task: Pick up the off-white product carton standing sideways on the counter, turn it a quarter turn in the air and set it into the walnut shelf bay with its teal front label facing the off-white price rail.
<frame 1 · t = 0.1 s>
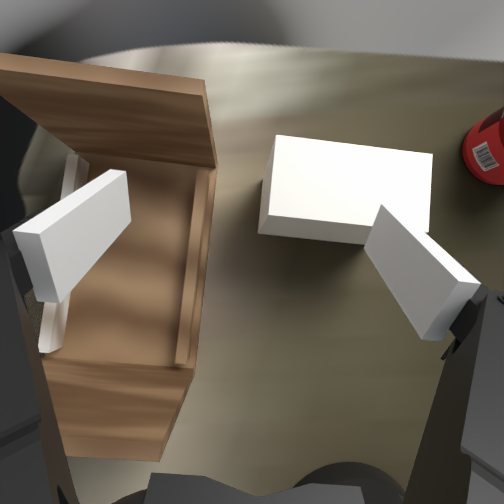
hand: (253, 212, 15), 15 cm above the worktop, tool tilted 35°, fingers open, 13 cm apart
facing shelf: (138, 259, 29), on the worktop
product carton: (314, 212, 31), on the worktop
canned food: (490, 154, 33), on the worktop
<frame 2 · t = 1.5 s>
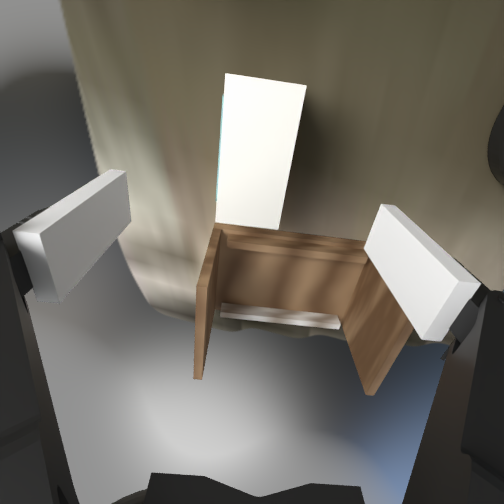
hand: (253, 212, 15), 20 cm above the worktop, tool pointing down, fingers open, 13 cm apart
facing shelf: (286, 274, 42), on the worktop
product carton: (255, 140, 32), on the worktop
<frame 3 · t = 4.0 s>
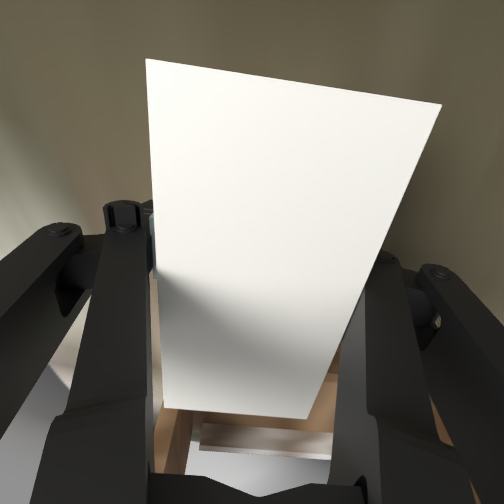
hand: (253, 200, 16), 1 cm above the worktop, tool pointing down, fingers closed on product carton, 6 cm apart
facing shelf: (302, 383, 27), on the worktop
product carton: (255, 194, 17), on the worktop, touching gripper
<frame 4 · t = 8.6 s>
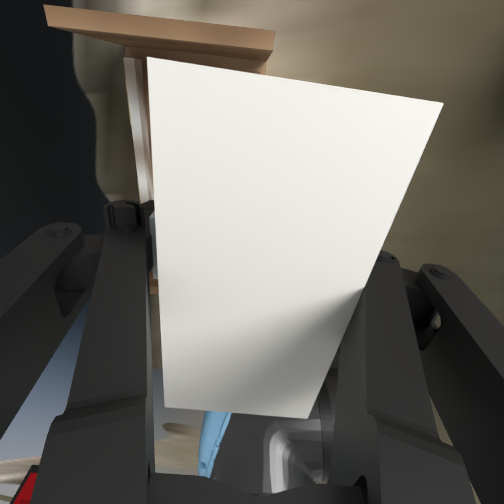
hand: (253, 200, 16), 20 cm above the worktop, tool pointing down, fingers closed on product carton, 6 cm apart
facing shelf: (199, 154, 35), on the worktop
product carton: (256, 193, 17), point 19 cm above the worktop, touching gripper
cleaning product box: (53, 478, 83), on the worktop
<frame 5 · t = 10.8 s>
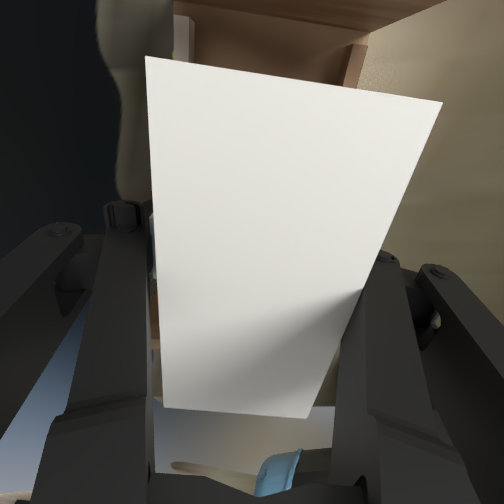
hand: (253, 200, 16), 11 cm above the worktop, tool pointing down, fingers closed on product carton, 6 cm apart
facing shelf: (254, 157, 26), on the worktop
product carton: (255, 193, 17), point 10 cm above the worktop, touching gripper
when the fingers open (4 cm above the worktop, at t = 12.9 s): product carton drops 1 cm, resting on facing shelf.
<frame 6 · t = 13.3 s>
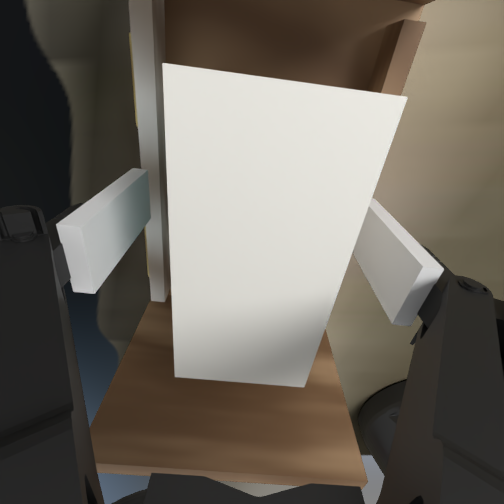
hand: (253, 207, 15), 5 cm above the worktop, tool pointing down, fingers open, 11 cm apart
facing shelf: (253, 179, 20), on the worktop
product carton: (255, 186, 18), point 1 cm above the worktop, touching facing shelf
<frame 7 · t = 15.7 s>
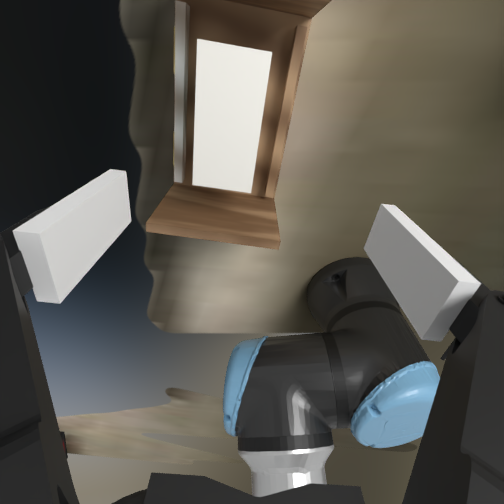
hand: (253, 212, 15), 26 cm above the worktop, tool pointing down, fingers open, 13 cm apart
facing shelf: (233, 110, 35), on the worktop
product carton: (234, 112, 34), point 1 cm above the worktop, touching facing shelf
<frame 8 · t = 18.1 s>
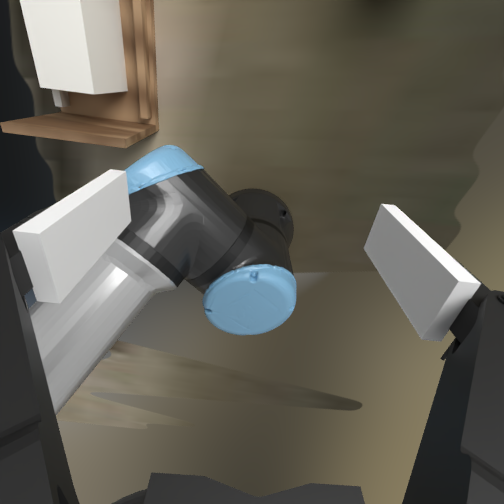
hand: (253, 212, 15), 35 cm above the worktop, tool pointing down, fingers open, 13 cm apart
facing shelf: (103, 38, 39), on the worktop
product carton: (99, 36, 38), point 1 cm above the worktop, touching facing shelf
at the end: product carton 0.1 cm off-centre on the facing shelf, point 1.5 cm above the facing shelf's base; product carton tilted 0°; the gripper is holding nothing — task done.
